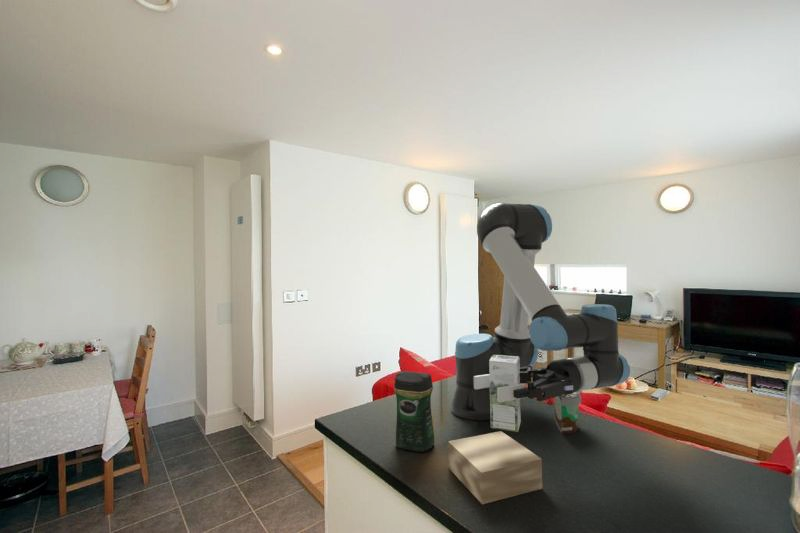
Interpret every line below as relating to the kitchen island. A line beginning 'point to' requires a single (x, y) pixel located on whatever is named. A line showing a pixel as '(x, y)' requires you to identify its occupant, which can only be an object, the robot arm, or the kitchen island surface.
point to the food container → (567, 412)
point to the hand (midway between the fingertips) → (485, 388)
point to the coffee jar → (414, 411)
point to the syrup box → (502, 375)
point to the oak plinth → (494, 466)
